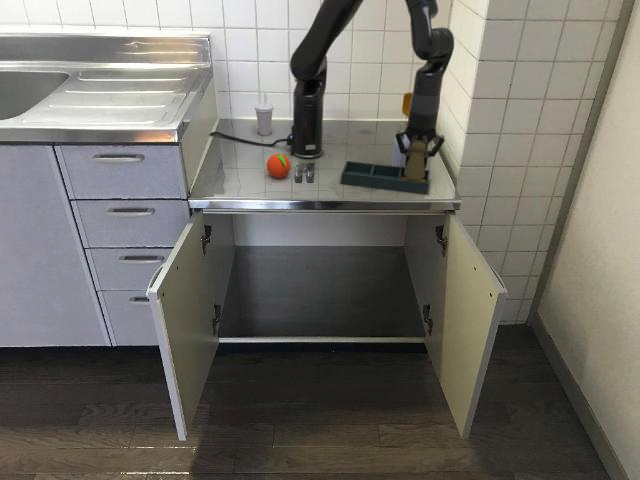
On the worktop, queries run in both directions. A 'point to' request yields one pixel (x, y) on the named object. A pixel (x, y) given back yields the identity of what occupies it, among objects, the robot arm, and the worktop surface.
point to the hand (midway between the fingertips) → (415, 167)
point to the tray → (382, 177)
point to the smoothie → (264, 117)
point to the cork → (416, 161)
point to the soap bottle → (398, 157)
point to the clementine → (278, 165)
